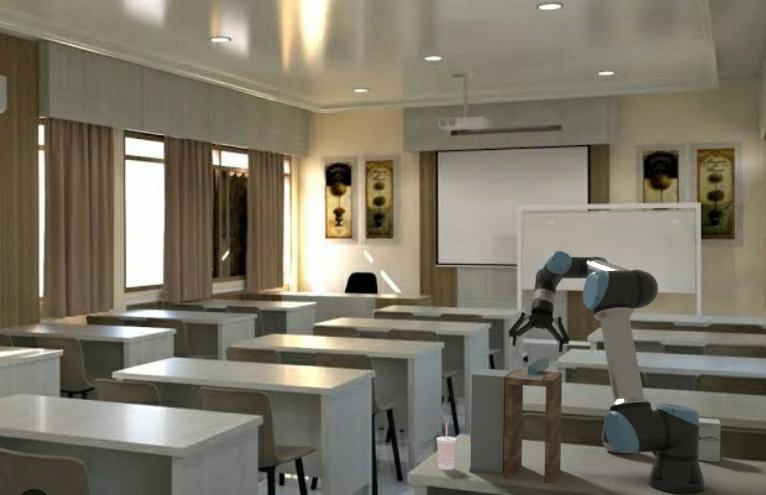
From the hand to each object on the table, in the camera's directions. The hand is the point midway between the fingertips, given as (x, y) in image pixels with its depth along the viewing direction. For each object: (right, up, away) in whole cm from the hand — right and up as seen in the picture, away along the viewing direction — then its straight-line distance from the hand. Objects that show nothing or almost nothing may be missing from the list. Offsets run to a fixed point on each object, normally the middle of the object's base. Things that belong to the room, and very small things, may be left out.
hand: (535, 356), depth 290 cm
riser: (-6, -32, -28) cm, 43 cm away
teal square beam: (-4, -2, -24) cm, 25 cm away
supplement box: (+54, -32, -8) cm, 64 cm away
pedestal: (-18, -32, -22) cm, 42 cm away
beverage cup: (-32, -32, -22) cm, 50 cm away
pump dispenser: (+27, -32, 0) cm, 42 cm away
